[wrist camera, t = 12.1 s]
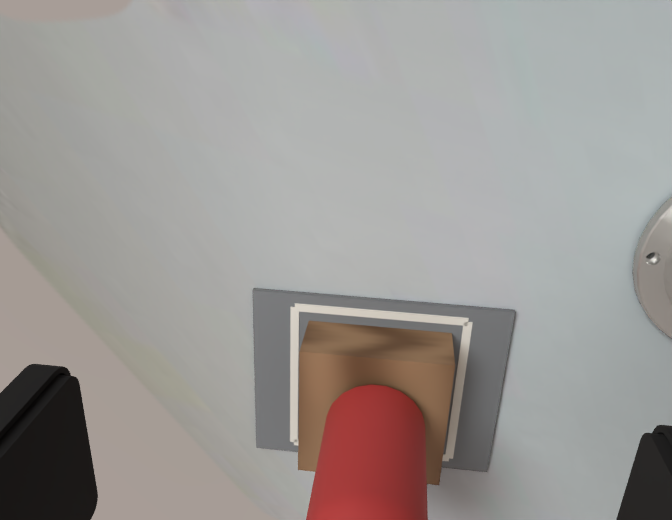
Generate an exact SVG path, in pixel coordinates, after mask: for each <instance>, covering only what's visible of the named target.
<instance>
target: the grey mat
mask: <svg viewBox="0 0 672 520" xmlns="http://www.w3.org/2000/svg"><path fill="white" fill-rule="evenodd" d="M514 316H515V311H514V310H510V309H498V308H486V307H474V306H462V305H450V304H438V303H426V302H414V301H402V300H390V299H378V298H366V297H354V296H342V295H330V294H318V293H306V292H294V291H282V290H270V289H258V288H254V289H253V328H254V368H255V409H256V448H265V449H275V450H284V451H294V452H298V435H299V351H300V348H301V345H302V341H303V338H304V335H305V331H306V328H307V325H308V322H309V321H320V322H331V323H343V324H354V325H366V326H377V327H389V328H400V329H412V330H423V331H434V332H446V333H452V340H453V349H454V359H455V371H454V378H453V386H452V393H451V400H450V408H449V415H448V423H447V430H446V437H445V445H444V452H443V459H442V467H444V468H454V469H463V470H473V471H482V472H487V470H488V464H489V458H490V453H491V447H492V441H493V436H494V430H495V424H496V418H497V413H498V407H499V401H500V396H501V390H502V384H503V379H504V373H505V367H506V362H507V356H508V350H509V345H510V339H511V333H512V328H513V322H514Z"/></svg>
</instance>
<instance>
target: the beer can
mask: <svg viewBox="0 0 672 520" xmlns="http://www.w3.org/2000/svg"><path fill="white" fill-rule="evenodd" d="M306 520H428V518H427V477H426V436H425V423H424V419H423V415H422V412H421V411H420V410H419V408H418V407H417V405H416V404H415V403H414V401H413V400H412V399H410V398H409V397H408V396H406V395H405V394H404V393H402V392H401V391H398V390H396V389H393V388H390V387H388V386H382V385H372V384H370V385H364V386H358V387H355V388H353V389H350V390H348V391H346V392H344V393H343V394H341V395H340V396H339V397H338V398H337V399H336V400H335V401H334V402H333V403H332V405H331V407H330V409H329V411H328V414H327V417H326V422H325V427H324V432H323V437H322V442H321V447H320V452H319V457H318V462H317V468H316V473H315V478H314V483H313V488H312V493H311V498H310V503H309V508H308V513H307V518H306Z"/></svg>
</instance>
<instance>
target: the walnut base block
mask: <svg viewBox="0 0 672 520" xmlns="http://www.w3.org/2000/svg"><path fill="white" fill-rule="evenodd" d="M454 371H455V359H454V349H453V340H452V333H446V332H434V331H423V330H412V329H400V328H389V327H377V326H366V325H354V324H343V323H331V322H320V321H309V322H308V325H307V328H306V331H305V335H304V338H303V341H302V345H301V348H300V351H299V435H298V470H305V471H314V472H316V468H317V462H318V457H319V452H320V447H321V442H322V437H323V432H324V427H325V422H326V417H327V414H328V411H329V409H330V407H331V405H332V403H333V402H334V401H335V400H336V399H337V398H338V397H339V396H340V395H341V394H343V393H344V392H346V391H348V390H350V389H353V388H355V387H358V386H364V385H370V384H372V385H382V386H388V387H390V388H393V389H396V390H398V391H401V392H402V393H404V394H405V395H406V396H408V397H409V398H410V399H412V400H413V401H414V403H415V404H416V405H417V407H418V408H419V410H420V411H421V412H422V415H423V419H424V423H425V436H426V477H427V484H434V485H439V482H440V474H441V467H442V459H443V452H444V445H445V437H446V430H447V423H448V415H449V408H450V400H451V393H452V386H453V378H454Z"/></svg>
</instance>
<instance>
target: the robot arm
mask: <svg viewBox="0 0 672 520" xmlns="http://www.w3.org/2000/svg"><path fill="white" fill-rule="evenodd" d="M650 253H652V254H651V255H650V256H647V255H648V254H650ZM633 280H634V287H635V291H636V294H637V296H638V299H639V302H640V304H641V306H642V307H643V309H644V310H645V312H646V313H647V315H648V317H649V318H650V319H651V320H652V321H653V322H654V324H655V325H656V326H657V327H658V328H659V329H660V330H661V331H662V332H664V333H665V334H666V335H668V336H669V337H670V338H672V197H671V198H670V199H669V200H667V201H666V202H665V203H664V204H663V205H662V206H661V207H660V208H659V210H658V211H657V212H656V213H655V215H654V216H653V217H652V218H651V220H650V221H649V222H648V224H647V226H646V228H645V230H644V232H643V233H642V235H641V237H640V239H639V242H638V245H637V249H636V252H635V255H634V263H633ZM97 498H98V494H97V487H96V481H95V475H94V469H93V463H92V457H91V451H90V445H89V439H88V433H87V427H86V421H85V415H84V409H83V403H82V397H81V391H80V385H79V381H78V379H77V378H76V377H74V376H71V375H70V373H69V371H68V369H67V368H65V367H60V366H50V365H40V364H31V365H29V366H27V367H26V368H25V369H24V370H23V371H22V372H21V373H20V374H19V375H18V376H17V377H16V378H15V379H14V380H13V381H12V382H11V383H10V384H9V385H8V386H7V387H6V388H5V389H4V390H3V391H2V392H1V393H0V520H90V519H91V518H92V516H93V514H94V511H95V509H96V504H97ZM617 520H672V426H667V425H658V426H657V427H656V428H655V429H654V431H653V433H644V435H643V436H642V438H641V440H640V443H639V447H638V450H637V453H636V457H635V460H634V463H633V467H632V470H631V473H630V477H629V480H628V483H627V486H626V490H625V493H624V496H623V500H622V503H621V506H620V510H619V513H618V516H617Z"/></svg>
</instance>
